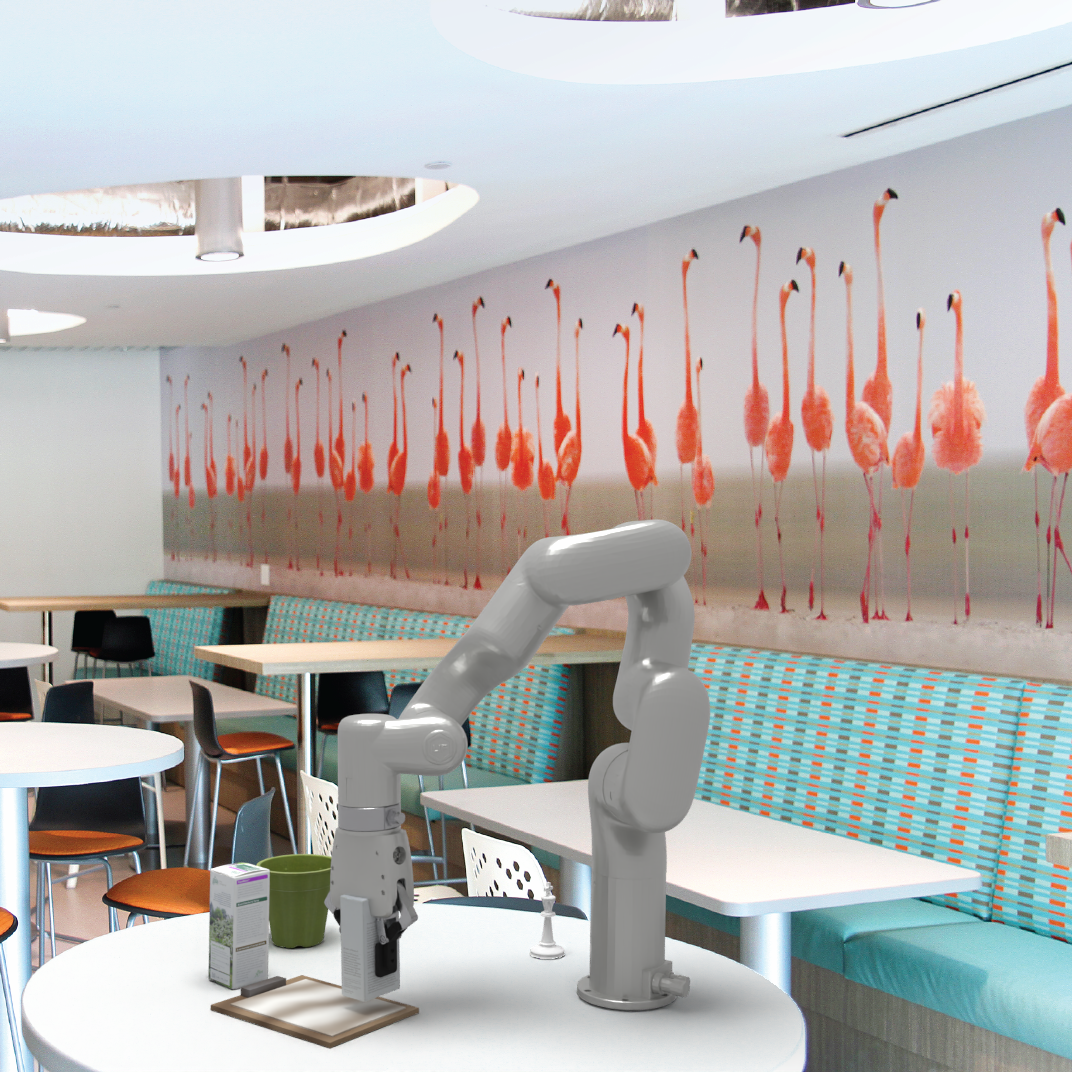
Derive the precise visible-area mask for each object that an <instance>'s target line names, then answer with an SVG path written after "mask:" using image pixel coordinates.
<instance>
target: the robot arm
mask: <svg viewBox="0 0 1072 1072" xmlns="http://www.w3.org/2000/svg"><path fill="white" fill-rule="evenodd" d="M691 546H692V545H691V542H690V540H689V538H688V536H687V534H686V533H685V532H684V530H682V529H681V528H680V527H679V526H678V525H677V524H675V523H673V522H671V521H668V520H665V519H659V518H658V519H645V520H633V521H631V520H630V521H627V522H622V523H620V524H617V525H616V526H613V527H612V528H610V529H609V528H608V529H604V530H603V529H602V530H598V531H592V532H586V533H579V534H570V535H559V536H547V537H543V538H540V539H538V540H537V541H534V543H532V544H531V545H530V546H528V548H527V549H525V551H524V552H523V553H522V555H521V556H520V558H519V559H518V561H517V562H516V563H515V565H514V566H513V567H512V568H511V570H510V571H509V573H508V574H507V576H506V577H505V578H504V580H503V581H502V583H501V584H500V586H498V588H497V590H496V591H495V593H494V594H493V596H492V597H491V598H490V600H489V601H488V602H487V604H486V605H485V606H484V607H483V609H482V611H481V612H480V613H479V615H477V618H476V619H475V620H474V622H473V623H472V624H471V626H469V628H468V629H467V630H466V632H465V633H464V634H463V635H462V636H461V637H460V638H459V639H458V640H457V641H456V642H455V644H454V645H453V647H451V649H450V650H449V651H448V652H447V653H446V655H444V656H443V657H442V659H441V660H440V661H439V662H438V664H436V666H435V667H434V668H433V669H432V670H431V672H430V673H429V674H428V676H427V677H426V678H425V680H424V681H423V682H422V683H421V685H420V686H419V688H418V689H417V691H416V693H414V695H413V696H412V698H410V700H409V702H408V703H407V705H406V706H405V707H404V709H403V710H402V712H401V713H400V715H399V717H398V718H396V717H395V716H393V715H389V714H387V713H386V714H384V713H360V714H353V715H347V716H345V717H343V718H342V719H341V720H340V722H339V724H338V727H337V796H338V797H337V827H336V828H335V832H334V837H333V843H332V849H331V857H332V858H331V873H330V892H329V893H328V895H327V897H326V899H325V901H324V903H325V905H326V907H327V908H328V911H330V913H331V914H332V915H333V917H334V920H335V922H336V923H337V924H338V926H339V927H338V928H339V929H338V930H339V933H340V935H341V912H340V896H341V895H350V896H355V897H360V898H366V899H368V901H369V909H370V915H371V916H373V917H375V919H376V925H377V931H378V937H379V941H380V942H379V943H376V945H375V975H376V976H377V977H380V978H381V977H384V976H387V975H389V974H392V973H394V972H396V971H397V939H399V940H400V939H401V938H402V936H403V934H404V933H405V931H406V930H407V929H408V927H410V926H412V925H413V924H415V922H416V921H418V919H419V915H418V913H417V911H416V910H415V909H416V908H414V905H415V890H414V889H415V888H414V887H415V884H414V871H413V861H412V853H411V852H412V851H411V848H410V842H409V837H408V833H407V829H403V828H402V825H403V824H404V823H405V821H406V815H405V813H403V812H402V805H401V804H402V802H401V801H402V800H401V799H402V797H401V796H402V791H401V790H402V788H401V787H402V786H401V784H402V780H401V778H402V777H401V775H412V776H413V775H414V776H423V777H424V776H426V777H441V776H444V775H448V774H450V773H452V772H454V771H455V770H456V769H458V768H459V767H460V766H461V765H462V763H463V762H464V760H465V758H466V757H467V752H468V737H467V733H466V732H465V730H464V728H463V725H464V723H465V722H466V720H467V719H468V717H469V716H470V715H471V714H472V712H473V711H474V710H475V709H476V707H477V706H478V705H479V704H480V703H481V702H482V700H483V699H484V698H485V697H486V696H487V695H488V694H490V692H491V691H493V690H495V688H496V687H498V686H500V685H501V684H503V683H504V682H507V681H509V680H511V679H512V678H514V677H516V676H517V675H518V674H519V673H520V672H521V671H523V670H524V669H525V668H526V667H527V666H528V665H529V663H530V662H531V661H532V659H533V658H534V656H535V655H536V653H537V652H538V651H539V649H540V648H541V646H542V644H543V643H544V642H545V640H546V639H547V637H548V636H549V635H550V633H551V632H552V630H553V629H554V628H555V626H556V624H558V622H559V620H561V618H562V616H563V615H564V613H565V612H566V611H567V609H568V608H569V607H570V606H580V605H581V606H583V605H587V604H595V603H599V602H606V601H610V600H615V599H620V598H625V600H626V605H627V612H628V615H627V617H628V618H627V626H626V633H625V634H626V635H625V639H624V640H625V641H624V646H623V650H622V654H621V658H620V663H619V669H618V673H617V678H616V680H615V681H616V682H615V686H614V690H613V695H612V707H613V712H614V714H615V717H616V718H617V720H618V721H619V723H621V725H622V726H624V727H625V728H626V729H628V730H630V731H631V733H630V737H629V742H621V743H615V744H612V745H610V746H608V747H607V748H605V749H603V750H602V751H601V752H600V753H599V755H598V756H597V757H596V758H595V760H594V761H593V763H592V765H591V767H590V771H589V774H588V779H587V794H588V795H587V796H588V809H589V819H590V829H591V830H590V831H591V870H590V871H591V875H590V876H591V879H590V921H589V922H590V925H589V926H590V928H589V929H590V930H589V931H590V934H589V974H588V975H586V976H584V977H581V978H580V979H579V980H578V981H577V983H576V994H577V996H578V997H579V998H580V999H581V1000H583V1001H585V1002H586V1003H588V1004H591V1005H594V1006H598V1007H601V1008H606V1009H613V1010H619V1011H623V1010H624V1011H644V1010H645V1011H647V1010H654V1009H658V1008H662V1007H665V1006H668V1005H670V1004H672V1003H673V1002H674V1001H675V1000H676V998H677V997H681V998H687V997H688V996H689V993H690V990H691V989H690V987H691V986H690V984H691V978H690V977H689V976H687V975H682V974H675V972H674V971H673V961H672V960H669V959H665V958H666V915H667V914H666V912H667V911H666V905H667V903H666V902H667V898H666V895H667V864H668V862H667V861H668V860H667V859H668V857H667V855H668V854H667V838H666V833H667V832H668V831H670V830H673V829H674V828H676V827H677V826H679V825H680V824H681V823H682V822H683V820H685V818H686V816H687V815H688V813H689V811H690V810H691V807H692V804H693V802H694V799H695V795H696V791H697V786H698V782H699V777H700V773H701V767H702V763H703V758H704V754H705V748H706V742H707V738H708V733H709V728H710V723H711V722H710V720H711V703H710V698H709V695H708V691H707V688H706V686H705V684H704V683H703V681H702V680H701V678H699V677H698V675H697V674H695V673H694V672H693V671H691V670H690V669H689V663H690V657H691V652H692V644H693V637H694V630H695V623H696V622H695V617H696V616H695V612H696V611H695V605H694V600H693V599H694V598H693V596H692V592H691V590H690V587H689V584H688V582H687V579H686V577H685V575H686V573H687V571H688V569H689V568H690V564H691V561H692V554H693V553H692V547H691ZM397 908H398V909H397ZM398 911H399V915H398ZM386 920H389V923H390V927H389V928H387V922H386Z"/></svg>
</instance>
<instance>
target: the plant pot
mask: <svg viewBox="0 0 1072 1072" xmlns="http://www.w3.org/2000/svg"><path fill="white" fill-rule="evenodd" d="M331 858H332V856H329V855H323V854H313V853H297V854H285V855H277V856H272V857H267V858H265V859H263V860H259V861H258V862H257V863H256V865H255V866H259V867H262V868H266V869H269V870H270V890H269V931H270V935H271V937H270V938H271V941H272V944H273V945H275V946H276V947H279V946H280V947H281V948H284V947H286V948H285V949H293V948H294V949H295V948H296V947H303V948H312V947H314V946H316V945H319V944H321V943H322V942H323V940H324V937H325V933H326V927H327V926H326V925H327V920H328V913H329V909H328V908H327V907H326V905H325V903H324V901H325V899H326V897H327V895H328V893H329V892H330V873H331ZM311 946H312V947H311Z"/></svg>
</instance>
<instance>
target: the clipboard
mask: <svg viewBox="0 0 1072 1072" xmlns="http://www.w3.org/2000/svg"><path fill="white" fill-rule="evenodd" d="M210 1011H213V1012H217V1013H220V1014H222V1015H225V1014H226V1015H225V1016H228V1015H229V1016H228V1017H231V1018H234V1017H235V1019H237V1018H239V1019H238V1020H241V1019H242V1020H241V1021H244V1020H245V1021H244V1022H248V1023H250V1022H251V1024H253V1023H255V1024H254V1025H256V1024H258V1025H257V1026H260V1027H262V1026H263V1027H262V1028H265V1027H266V1029H269V1030H272V1031H275V1032H278V1033H281V1034H285V1035H288V1036H291V1037H293V1038H294V1037H295V1038H297V1039H300V1040H303V1041H306V1042H309V1043H313V1044H316V1045H318V1046H319V1045H320V1046H322V1047H325V1048H328V1049H332V1048H334V1047H336V1046H339V1045H341V1043H342V1044H344V1043H346V1042H349V1041H352V1040H355V1039H356V1038H359V1037H362V1036H364V1035H367V1034H369V1033H371V1032H374V1031H376V1030H378V1029H382V1028H384V1027H387V1026H390V1025H392V1024H394V1023H397V1022H399V1021H401V1020H404V1019H407V1018H410V1017H412V1016H415V1015H417V1014H419V1013H420V1008H419V1007H417V1006H414V1005H410V1004H407V1003H403V1002H399V1001H397V1000H392V999H390V998H385V997H382V996H379V997H376V998H374V999H371V1000H368V1001H366V1002H363V1001H359V1000H356V999H353V998H349V997H346V996H343V995H342V985H340V984H337V983H336V984H335V983H332V982H329V981H324V980H323V979H322V980H321V979H318V978H314V977H311V976H308V975H307V976H306V975H305V974H303V975H302V974H301V975H297V976H295V977H291V978H289V979H287V978H286V977H283V976H280V975H274V976H272V977H268V979H266V980H263V981H260V982H256V983H253V984H250V985H247V986H244V987H241V988H240V994H239V995H236V996H234V997H231V998H228V999H224V1000H221V1001H218V1002H215V1003H211V1004H210Z"/></svg>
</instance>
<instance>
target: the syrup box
mask: <svg viewBox="0 0 1072 1072" xmlns="http://www.w3.org/2000/svg"><path fill="white" fill-rule="evenodd" d="M209 876H210V877H209V878H210V879H209V925H208V928H209V929H208V935H209V936H208V980H209V981H210V982H211V981H212V982H214V983H217V984H219V985H221V986H224V987H225V988H229V989H231V990H236V989H237V990H238V989H241V987H244V986H247V985H250V984H253V983H256V982H260V981H263V980H266V979H269V954H270V953H269V945H270V943H269V941H270V939H269V938H270V933H269V932H270V923H269V890H270V870H269V869H266V868H262V867H259V866H256V865H255V864H252V863H249V862H234V863H228V864H224V865H220V866H216V867H214V868H212V867H211V868H210V873H209Z"/></svg>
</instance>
